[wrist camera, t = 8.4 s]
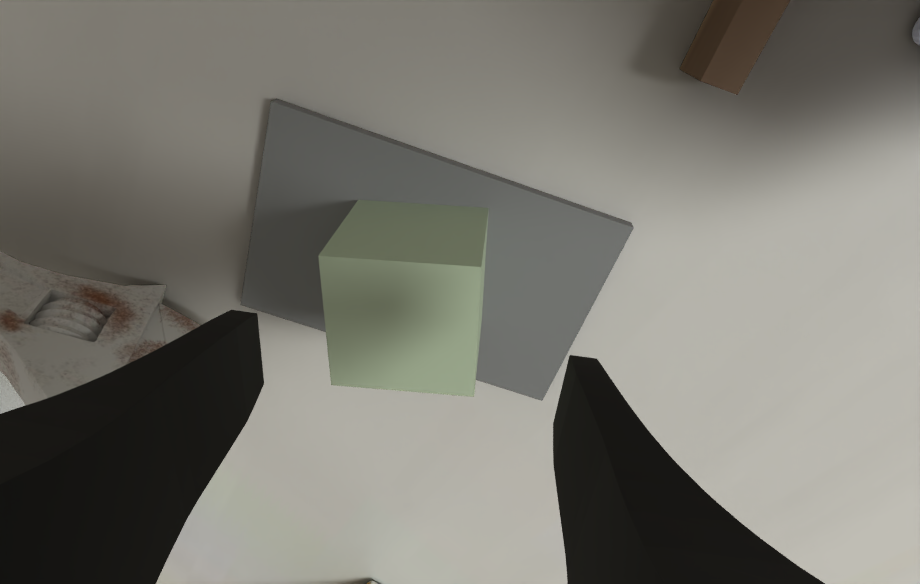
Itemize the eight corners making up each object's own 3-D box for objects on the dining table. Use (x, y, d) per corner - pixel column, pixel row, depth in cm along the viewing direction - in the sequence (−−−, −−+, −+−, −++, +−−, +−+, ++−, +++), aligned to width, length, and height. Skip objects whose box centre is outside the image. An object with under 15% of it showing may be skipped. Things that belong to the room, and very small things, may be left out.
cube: (488, 207, 21) (481, 267, 17) (481, 319, 24) (473, 396, 19) (358, 199, 22) (318, 256, 17) (364, 311, 24) (331, 385, 20)
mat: (631, 222, 22) (633, 227, 21) (541, 393, 26) (542, 400, 26) (276, 98, 20) (270, 101, 20) (245, 299, 25) (240, 304, 24)
